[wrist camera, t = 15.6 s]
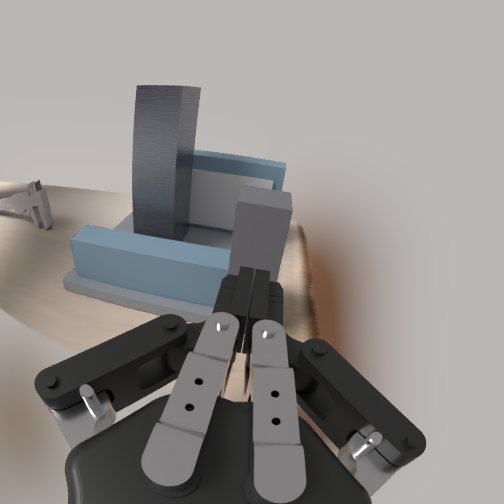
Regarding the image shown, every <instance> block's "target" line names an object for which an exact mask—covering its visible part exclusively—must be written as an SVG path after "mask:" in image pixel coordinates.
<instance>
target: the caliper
mask: <svg viewBox="0 0 504 504" xmlns="http://www.w3.org/2000/svg"><path fill="white" fill-rule="evenodd" d="M28 186H29V189H30V190H29V191H24V192H19V193H15V194H14V195H12V196H11V197H9V198H3V199H0V210H9V209H15V212H16V214H19V213H21V214H23V213H24V212H26V211H27V210H28V211H29V213H30V216H31V218H32V220H33V222H34V224H35V226H36V228H41V227H42V226H44V227H45V230H47V229H48V228H50V227H51V226H52V219H51V212H50V206H49V202H48V198H47V195H46V192H45V189H42V188H41V184H40V180H38V181H36V182H31V183H29V184H28Z"/></svg>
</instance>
